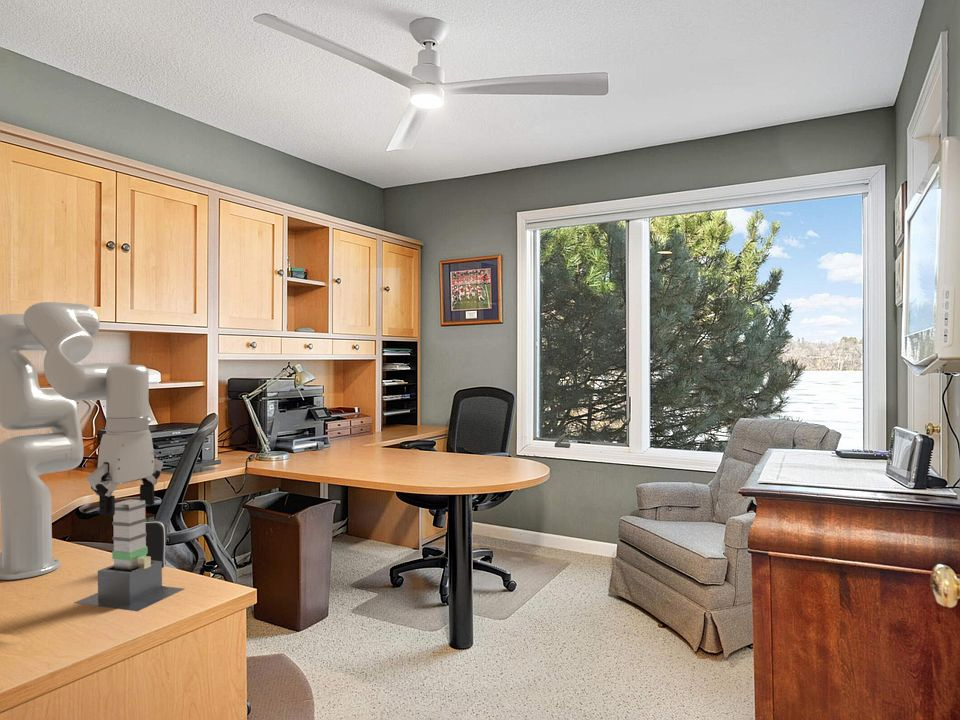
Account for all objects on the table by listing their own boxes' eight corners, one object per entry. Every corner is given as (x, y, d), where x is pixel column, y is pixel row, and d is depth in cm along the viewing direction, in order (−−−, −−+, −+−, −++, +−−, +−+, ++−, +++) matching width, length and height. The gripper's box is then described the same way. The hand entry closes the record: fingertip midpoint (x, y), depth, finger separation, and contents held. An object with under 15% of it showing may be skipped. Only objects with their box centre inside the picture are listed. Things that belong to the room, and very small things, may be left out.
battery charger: (169, 566, 147) (168, 518, 147) (163, 571, 143) (163, 522, 144) (137, 568, 146) (137, 519, 146) (131, 574, 142) (130, 524, 142)
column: (112, 568, 125) (111, 503, 125) (130, 561, 129) (129, 499, 129) (129, 570, 124) (128, 504, 124) (147, 563, 128) (146, 500, 128)
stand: (73, 607, 123) (72, 562, 123) (124, 586, 134) (124, 544, 134) (137, 616, 118) (137, 568, 118) (185, 593, 130) (184, 550, 130)
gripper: (147, 420, 136) (147, 498, 136) (74, 429, 119) (74, 518, 119) (175, 421, 134) (175, 501, 134) (104, 431, 117) (105, 522, 117)
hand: (127, 509), depth 127 cm, fingers open, 9 cm apart
